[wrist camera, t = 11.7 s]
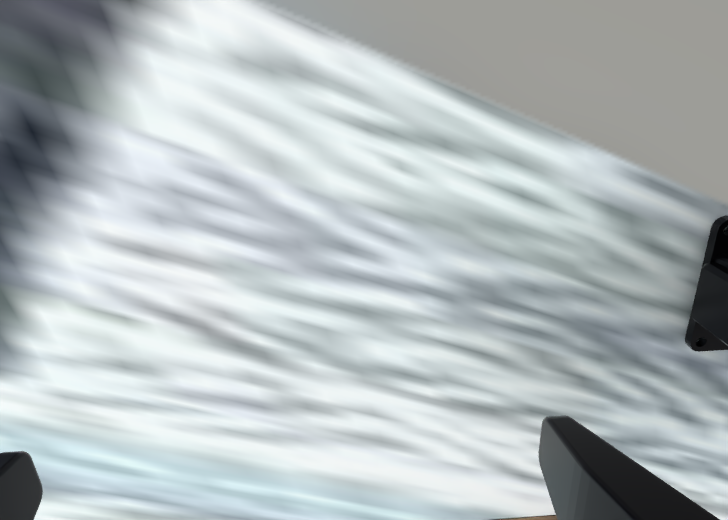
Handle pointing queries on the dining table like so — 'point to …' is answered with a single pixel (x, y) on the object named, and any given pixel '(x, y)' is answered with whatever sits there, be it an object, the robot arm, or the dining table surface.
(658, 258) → the dining table surface
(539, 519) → the collar board
